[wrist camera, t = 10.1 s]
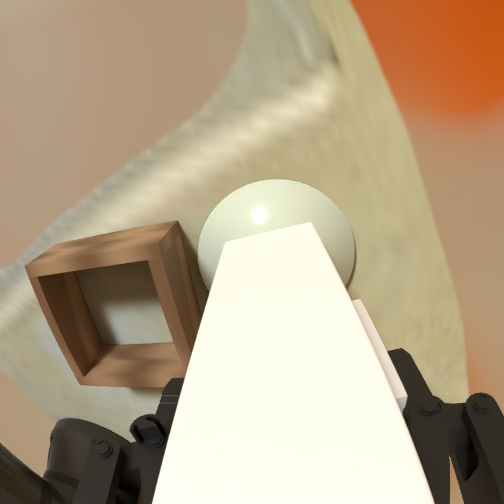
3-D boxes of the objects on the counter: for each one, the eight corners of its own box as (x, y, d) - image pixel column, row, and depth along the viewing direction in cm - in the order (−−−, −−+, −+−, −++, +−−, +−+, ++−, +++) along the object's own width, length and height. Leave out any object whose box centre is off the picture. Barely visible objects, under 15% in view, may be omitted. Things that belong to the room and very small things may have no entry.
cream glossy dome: (216, 329, 27) (215, 333, 27) (184, 192, 23) (182, 194, 23) (354, 311, 26) (356, 314, 26) (346, 169, 22) (349, 170, 22)
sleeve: (99, 353, 29) (80, 384, 25) (56, 244, 25) (24, 266, 20) (210, 348, 28) (202, 386, 24) (177, 220, 24) (157, 243, 19)
